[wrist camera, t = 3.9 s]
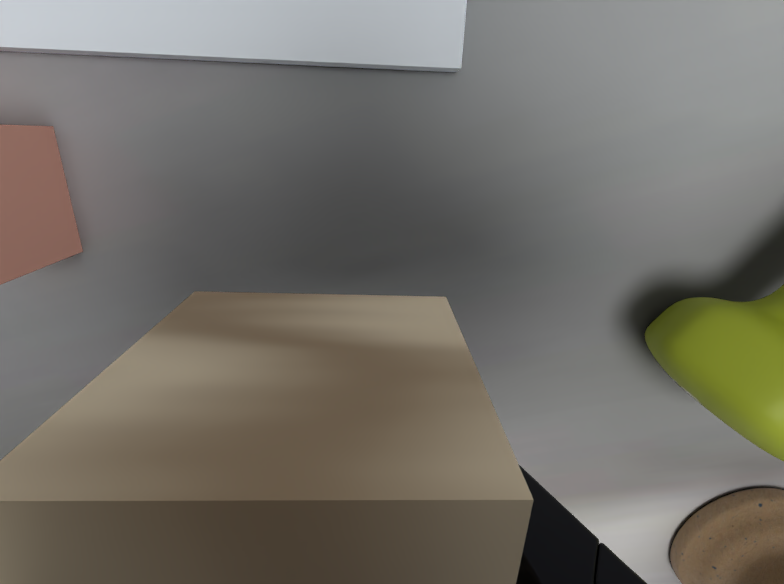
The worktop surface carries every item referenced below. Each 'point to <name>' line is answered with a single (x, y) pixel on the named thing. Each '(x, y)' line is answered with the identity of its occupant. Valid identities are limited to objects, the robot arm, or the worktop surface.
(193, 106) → the worktop surface
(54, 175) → the coral block
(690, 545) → the candle holder
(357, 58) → the blueprint board
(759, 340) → the dumbbell
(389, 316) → the maple block
